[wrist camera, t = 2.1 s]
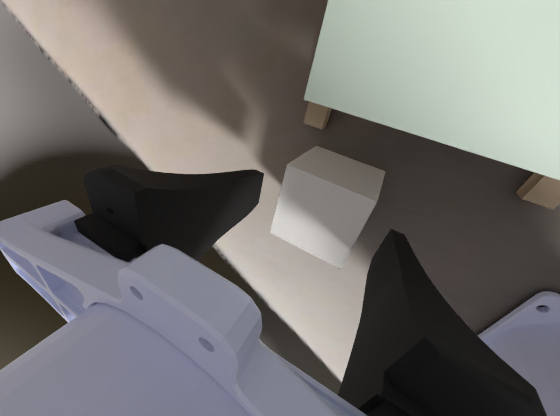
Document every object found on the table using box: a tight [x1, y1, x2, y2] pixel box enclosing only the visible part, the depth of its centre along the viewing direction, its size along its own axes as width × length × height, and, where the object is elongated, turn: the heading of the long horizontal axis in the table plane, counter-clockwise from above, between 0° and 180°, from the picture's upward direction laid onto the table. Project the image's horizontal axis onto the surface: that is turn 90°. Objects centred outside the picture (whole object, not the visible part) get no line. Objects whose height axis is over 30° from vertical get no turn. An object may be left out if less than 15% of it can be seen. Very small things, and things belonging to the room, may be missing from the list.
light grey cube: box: [270, 146, 386, 269], centre depth 13 cm, size 4×4×4 cm
